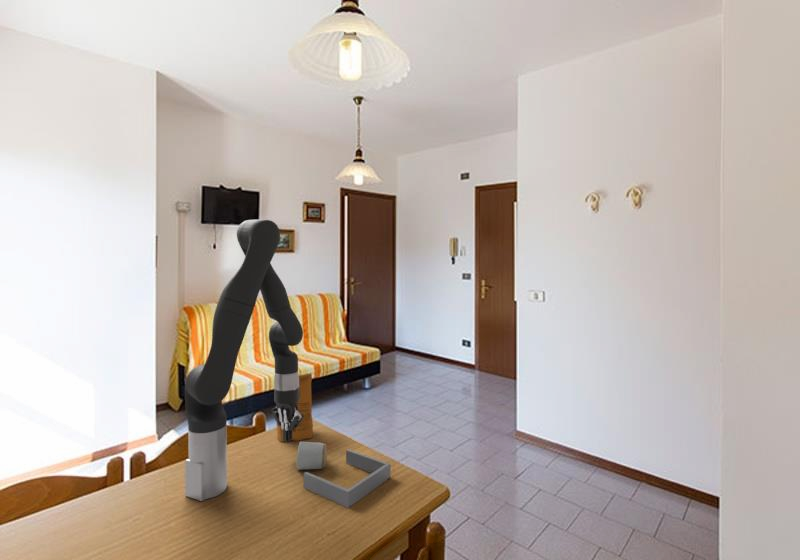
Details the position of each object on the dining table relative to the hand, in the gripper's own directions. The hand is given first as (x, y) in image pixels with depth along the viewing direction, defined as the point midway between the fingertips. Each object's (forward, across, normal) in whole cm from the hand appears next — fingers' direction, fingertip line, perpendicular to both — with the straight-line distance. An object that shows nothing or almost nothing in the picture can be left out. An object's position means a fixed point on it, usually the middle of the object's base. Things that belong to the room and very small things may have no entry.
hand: (287, 440), depth 129 cm
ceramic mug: (+6, +10, +1) cm, 12 cm away
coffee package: (+6, -11, +12) cm, 17 cm away
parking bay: (+5, +25, 0) cm, 26 cm away
